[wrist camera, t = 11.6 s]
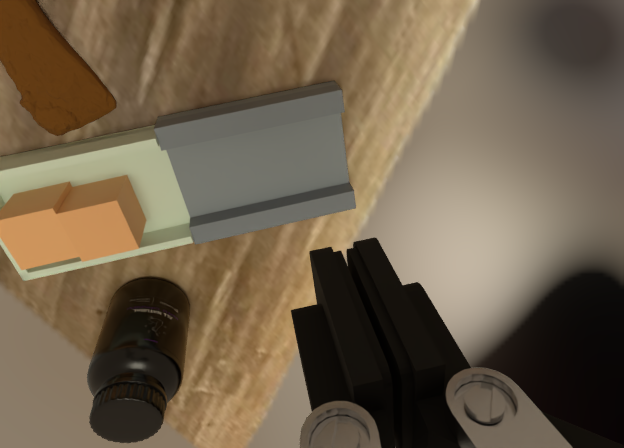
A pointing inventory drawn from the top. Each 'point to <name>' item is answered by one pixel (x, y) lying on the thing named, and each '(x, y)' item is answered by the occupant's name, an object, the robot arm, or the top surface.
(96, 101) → the primitive tool
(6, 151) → the top surface
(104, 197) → the orange cube
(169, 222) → the tray
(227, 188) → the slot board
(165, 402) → the supplement bottle
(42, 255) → the orange cube block
